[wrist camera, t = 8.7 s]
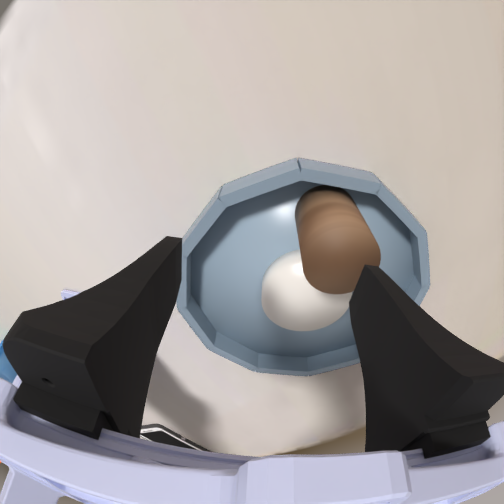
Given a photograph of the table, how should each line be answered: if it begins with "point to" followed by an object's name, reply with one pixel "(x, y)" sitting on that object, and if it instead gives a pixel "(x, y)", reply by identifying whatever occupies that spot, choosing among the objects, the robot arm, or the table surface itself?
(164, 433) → the cell phone
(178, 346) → the table surface
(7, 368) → the perfume bottle
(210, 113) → the table surface
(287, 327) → the round tray
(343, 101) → the table surface
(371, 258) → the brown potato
